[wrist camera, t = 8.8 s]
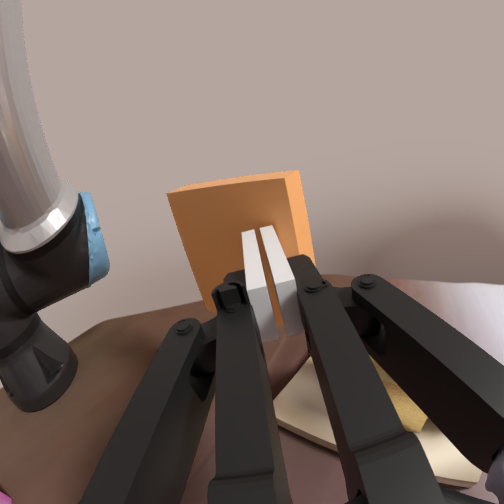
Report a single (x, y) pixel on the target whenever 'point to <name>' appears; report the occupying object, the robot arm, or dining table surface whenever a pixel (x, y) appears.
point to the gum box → (5, 499)
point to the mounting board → (320, 431)
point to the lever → (239, 225)
